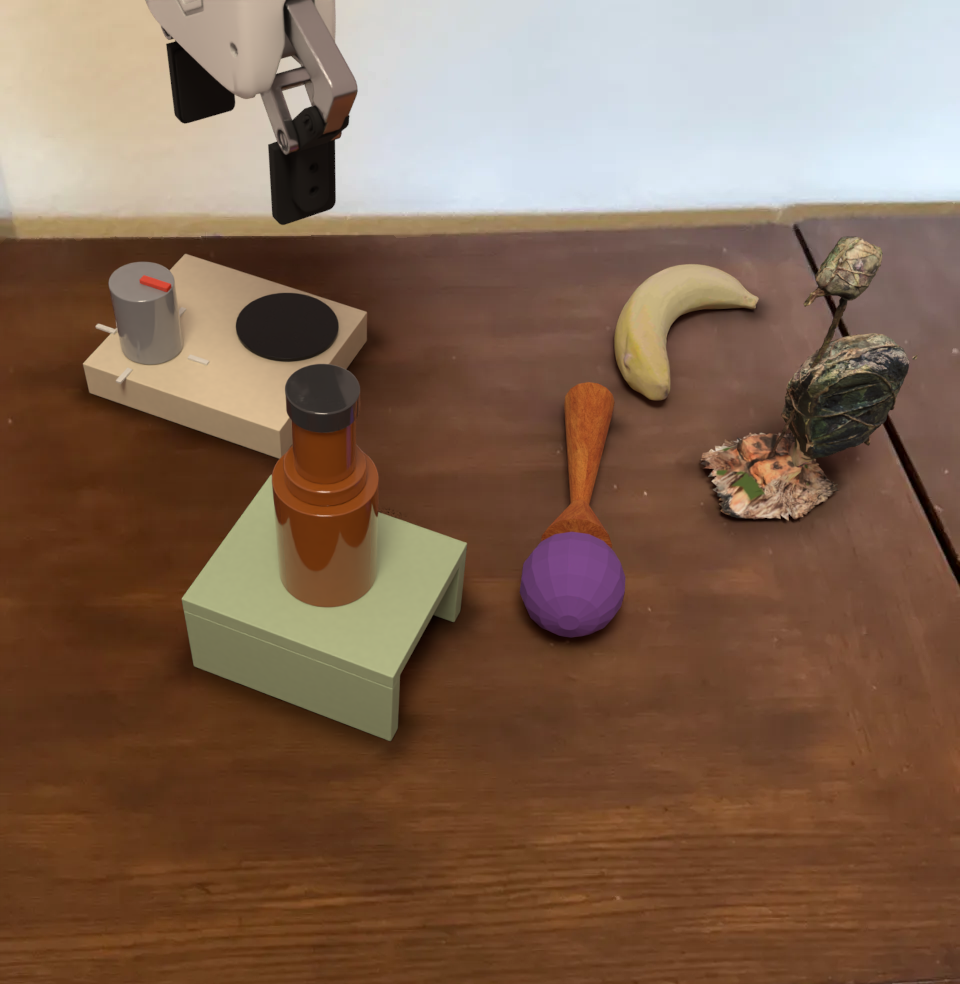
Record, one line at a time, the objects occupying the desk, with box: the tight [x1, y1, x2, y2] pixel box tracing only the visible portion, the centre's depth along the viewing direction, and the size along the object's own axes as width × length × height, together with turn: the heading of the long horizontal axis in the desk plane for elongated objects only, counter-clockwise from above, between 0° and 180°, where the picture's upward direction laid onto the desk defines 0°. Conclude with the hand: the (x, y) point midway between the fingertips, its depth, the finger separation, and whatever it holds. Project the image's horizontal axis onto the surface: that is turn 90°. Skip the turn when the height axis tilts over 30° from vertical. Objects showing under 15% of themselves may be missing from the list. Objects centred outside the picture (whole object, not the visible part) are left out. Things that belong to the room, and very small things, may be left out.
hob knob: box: [107, 261, 183, 365], centre depth 80 cm, size 4×4×5 cm
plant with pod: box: [699, 235, 918, 522], centre depth 74 cm, size 8×11×20 cm
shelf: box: [181, 474, 468, 742], centre depth 69 cm, size 12×10×6 cm
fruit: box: [613, 263, 760, 401], centre depth 89 cm, size 7×15×3 cm, turn 145°
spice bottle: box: [271, 364, 380, 607], centre depth 62 cm, size 5×5×13 cm
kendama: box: [519, 381, 626, 638], centre depth 76 cm, size 6×6×20 cm
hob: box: [82, 253, 368, 460], centre depth 84 cm, size 15×14×3 cm
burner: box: [236, 293, 339, 362], centre depth 84 cm, size 7×7×1 cm
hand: (253, 162), depth 62 cm, fingers open, 9 cm apart
